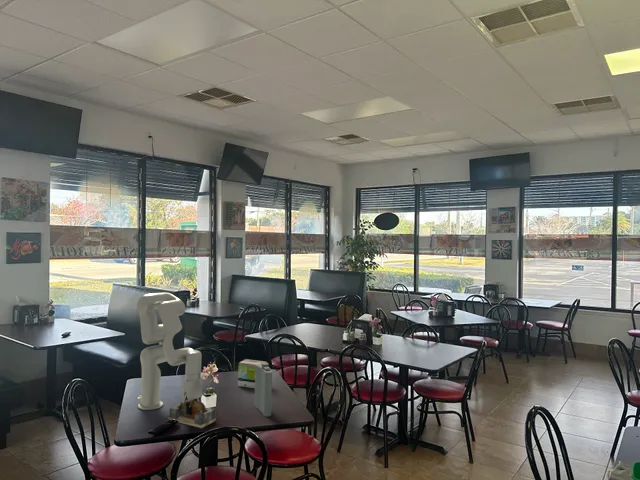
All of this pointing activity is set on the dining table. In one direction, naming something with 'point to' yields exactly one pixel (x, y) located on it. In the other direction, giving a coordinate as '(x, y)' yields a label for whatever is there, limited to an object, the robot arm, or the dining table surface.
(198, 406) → the tin
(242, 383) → the retro computer
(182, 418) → the stand
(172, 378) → the dining table surface
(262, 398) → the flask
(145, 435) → the dining table surface
